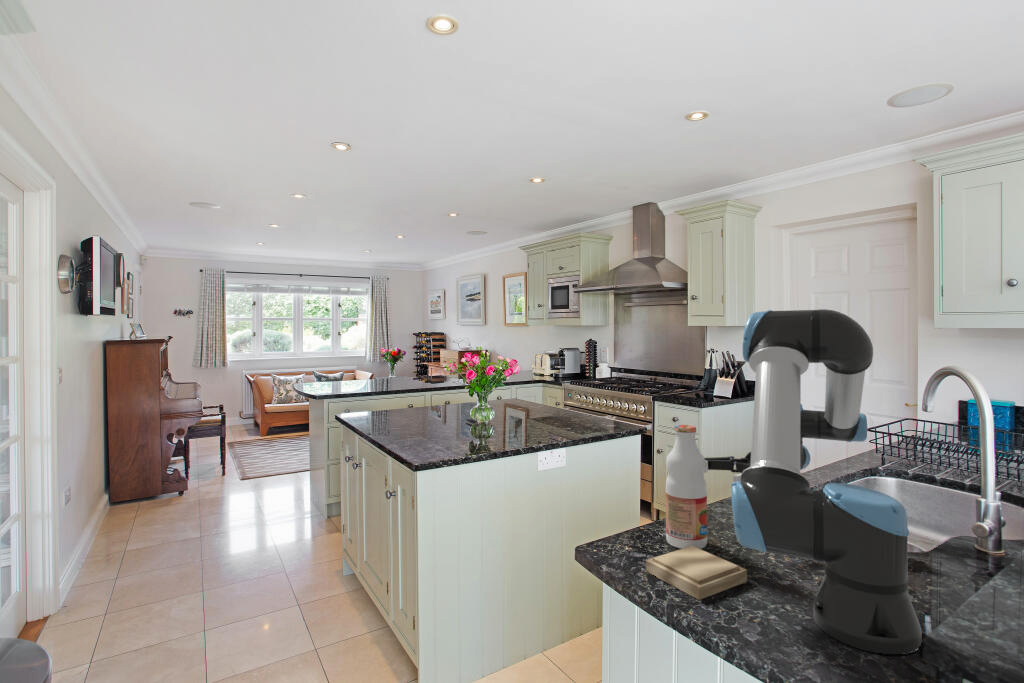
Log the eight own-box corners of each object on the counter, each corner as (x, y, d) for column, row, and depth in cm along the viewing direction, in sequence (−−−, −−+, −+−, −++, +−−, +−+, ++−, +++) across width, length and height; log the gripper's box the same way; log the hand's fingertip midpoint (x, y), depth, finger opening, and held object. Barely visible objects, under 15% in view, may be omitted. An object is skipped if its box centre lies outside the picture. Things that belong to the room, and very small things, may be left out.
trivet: (747, 581, 106) (746, 566, 106) (699, 600, 99) (699, 584, 99) (691, 556, 118) (691, 543, 118) (645, 571, 111) (645, 557, 111)
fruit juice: (662, 535, 131) (661, 423, 130) (700, 535, 130) (699, 422, 129) (670, 550, 121) (669, 430, 121) (712, 551, 120) (711, 429, 120)
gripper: (811, 489, 130) (756, 503, 119) (725, 467, 151) (673, 478, 141) (811, 458, 129) (756, 471, 119) (725, 441, 151) (672, 450, 141)
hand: (711, 475), depth 130 cm, fingers open, 13 cm apart
